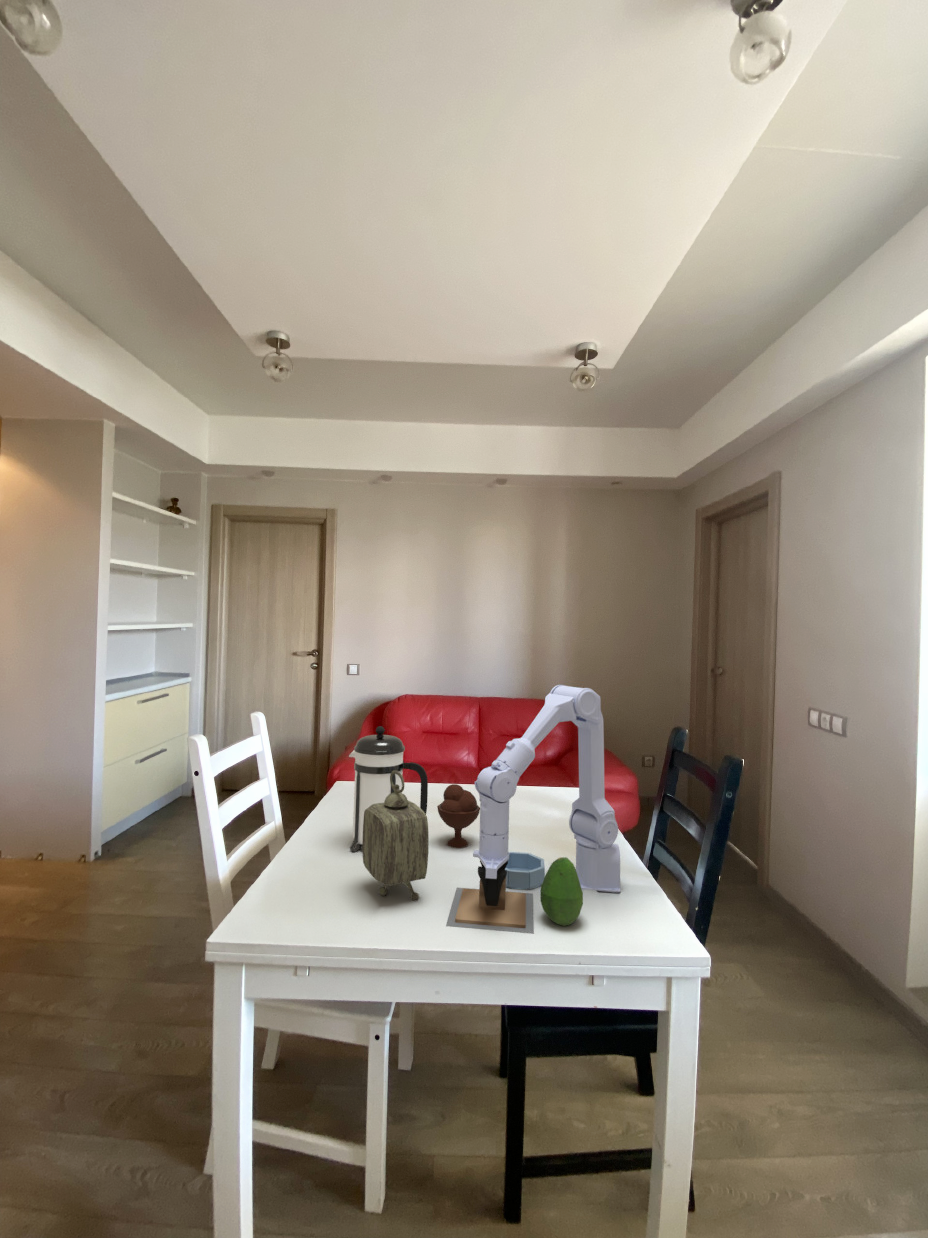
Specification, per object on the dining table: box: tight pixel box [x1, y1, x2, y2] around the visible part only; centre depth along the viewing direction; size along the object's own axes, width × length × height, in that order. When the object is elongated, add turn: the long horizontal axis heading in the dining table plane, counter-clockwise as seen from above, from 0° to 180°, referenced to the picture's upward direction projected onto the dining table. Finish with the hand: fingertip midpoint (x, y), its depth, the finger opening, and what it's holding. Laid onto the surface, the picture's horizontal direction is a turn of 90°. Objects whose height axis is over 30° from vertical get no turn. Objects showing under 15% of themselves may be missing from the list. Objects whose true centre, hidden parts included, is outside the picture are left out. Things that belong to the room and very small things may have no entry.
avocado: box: [539, 857, 584, 927], centre depth 106 cm, size 8×8×12 cm
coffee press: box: [348, 725, 429, 853], centre depth 143 cm, size 17×16×30 cm
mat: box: [445, 887, 535, 935], centre depth 110 cm, size 16×16×1 cm
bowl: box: [505, 851, 546, 891], centre depth 124 cm, size 11×11×4 cm
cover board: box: [455, 878, 527, 928], centre depth 110 cm, size 13×13×6 cm
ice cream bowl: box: [437, 783, 480, 849], centre depth 145 cm, size 11×11×15 cm
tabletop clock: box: [361, 770, 430, 902], centre depth 116 cm, size 14×9×25 cm, turn 30°
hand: (492, 901), depth 110 cm, fingers closed on cover board, 3 cm apart
